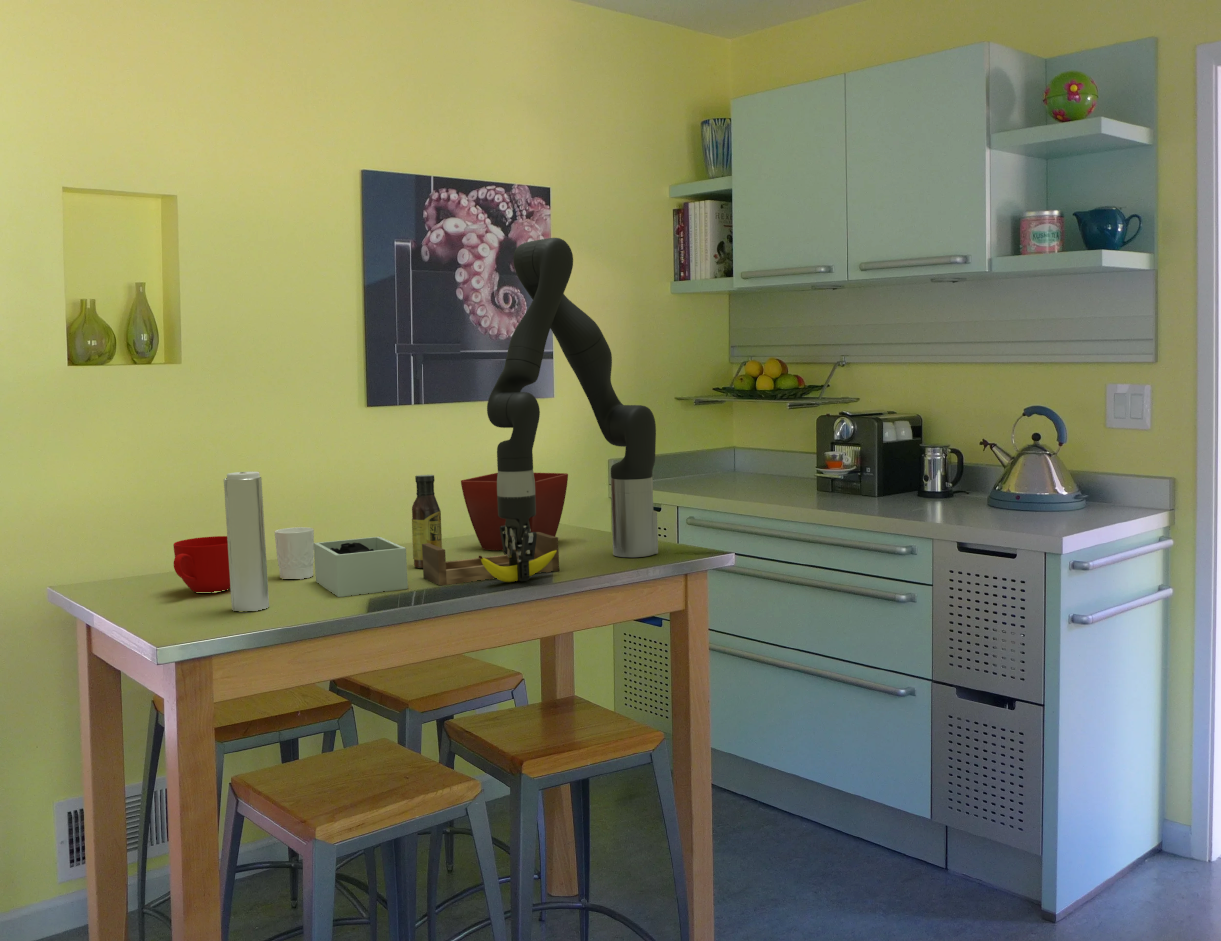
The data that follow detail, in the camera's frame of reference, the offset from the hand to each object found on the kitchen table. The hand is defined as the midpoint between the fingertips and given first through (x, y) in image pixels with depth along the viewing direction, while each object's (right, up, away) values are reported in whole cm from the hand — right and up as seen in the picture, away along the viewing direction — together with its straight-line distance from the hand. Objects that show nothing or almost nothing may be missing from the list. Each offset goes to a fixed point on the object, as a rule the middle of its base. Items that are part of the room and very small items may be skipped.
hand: (519, 578), depth 224 cm
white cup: (-47, -1, +11) cm, 49 cm away
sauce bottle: (-21, +1, +19) cm, 29 cm away
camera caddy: (-32, -1, +1) cm, 32 cm away
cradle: (-6, 0, +8) cm, 10 cm away
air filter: (-47, -4, -19) cm, 51 cm away
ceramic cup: (-62, -3, -3) cm, 62 cm away
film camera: (-31, -2, 0) cm, 31 cm away
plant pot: (-4, +3, +42) cm, 42 cm away
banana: (0, -1, 0) cm, 1 cm away
